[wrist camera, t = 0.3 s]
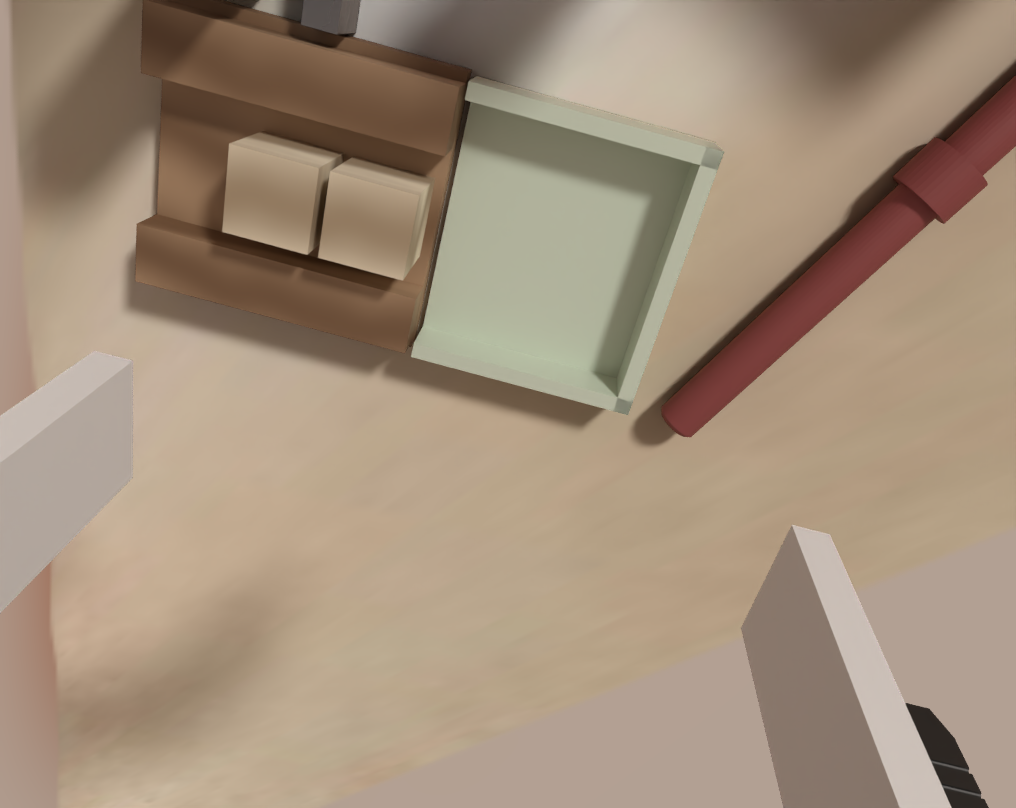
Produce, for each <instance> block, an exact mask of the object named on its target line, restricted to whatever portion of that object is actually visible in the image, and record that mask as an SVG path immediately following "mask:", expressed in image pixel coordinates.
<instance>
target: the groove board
mask: <svg viewBox="0 0 1016 808" xmlns="http://www.w3.org/2000/svg"><path fill="white" fill-rule="evenodd" d="M471 71H472V70H471V69H467V68H464V67H460V66H456V65H453V64H449V63H446V62H442V61H438V60H435V59H431V58H428V57H424V56H420V55H417V54H413V53H410V52H406V51H402V50H399V49H395V48H392V47H388V46H384V45H381V44H377V43H374V42H370V41H366V40H363V39H359V38H356V37H352V36H348V35H345V34H339V35H336V34H333V33H329V32H326V31H322V30H318V29H315V28H311V27H308V26H304V25H301V22H298V21H294V20H291V19H287V18H284V17H280V16H277V15H273V14H269V13H266V12H262V11H259V10H255V9H251V8H248V7H244V6H241V5H237V4H233V3H230V2H226V1H223V0H143V10H142V48H141V73H143V74H147V75H150V76H154V77H158V78H161V79H162V99H161V125H160V151H159V177H158V203H157V214H156V215H154V216H152V217H150V218H148V219H146V220H144V221H142V222H140V223H138V224H137V235H136V273H135V281H137V282H141V283H144V284H148V285H152V286H155V287H159V288H163V289H167V290H170V291H174V292H178V293H182V294H185V295H189V296H193V297H197V298H200V299H204V300H208V301H211V302H215V303H219V304H223V305H226V306H230V307H234V308H238V309H241V310H245V311H249V312H253V313H256V314H260V315H264V316H267V317H271V318H275V319H279V320H282V321H286V322H290V323H294V324H297V325H301V326H305V327H308V328H312V329H316V330H320V331H323V332H327V333H331V334H335V335H338V336H342V337H346V338H350V339H353V340H357V341H361V342H364V343H368V344H372V345H376V346H379V347H383V348H387V349H391V350H394V351H398V352H402V353H405V352H406V350H407V348H408V346H409V347H411V346H412V344H413V342H414V341H415V339H416V334H417V329H418V324H419V320H420V315H421V310H422V305H423V301H424V296H425V291H426V286H427V282H428V277H429V272H430V267H431V262H432V258H433V253H434V248H435V243H436V239H437V234H438V229H439V224H440V219H441V215H442V210H443V205H444V200H445V196H446V191H447V186H448V181H449V176H450V172H451V167H452V162H453V157H454V153H455V148H456V143H457V138H458V133H459V129H460V124H461V119H462V114H463V110H464V105H465V96H466V91H467V87H468V82H469V81H470V76H471ZM261 131H266V132H270V133H274V134H277V135H281V136H284V137H288V138H292V139H295V140H299V141H303V142H306V143H310V144H314V145H317V146H321V147H325V148H328V149H332V150H336V151H339V152H343V153H345V154H344V161H343V163H344V162H346V161H347V160H349V159H350V158H352V157H354V156H357V157H361V158H365V159H368V160H372V161H376V162H379V163H383V164H387V165H390V166H394V167H398V168H401V169H405V170H409V171H412V172H416V173H419V174H423V175H427V176H430V177H434V178H435V183H434V188H433V193H432V198H431V203H430V208H429V213H428V218H427V223H426V228H425V233H424V238H423V243H422V248H421V252H420V257H419V258H418V259H417V261H416V262H415V264H414V265H413V267H412V268H411V269H410V271H409V272H408V274H407V275H406V277H405V278H404V280H403V281H402V280H398V279H395V278H391V277H387V276H384V275H380V274H376V273H372V272H369V271H365V270H361V269H358V268H354V267H350V266H347V265H343V264H339V263H335V262H332V261H328V260H324V259H321V258H318V254H319V247H320V244H319V245H318V246H317V247H316V248H315V249H314V250H313V251H311V252H310V253H309V254H308V255H306V254H302V253H298V252H295V251H291V250H287V249H284V248H280V247H276V246H273V245H269V244H265V243H262V242H258V241H254V240H250V239H247V238H243V237H239V236H236V235H232V234H228V233H225V232H222V228H223V215H224V203H225V190H226V177H227V165H228V152H229V143H232V142H235V141H237V140H240V139H243V138H245V137H248V136H251V135H253V134H256V133H259V132H261Z"/></svg>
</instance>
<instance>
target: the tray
mask: <svg viewBox="0 0 1016 808" xmlns="http://www.w3.org/2000/svg"><path fill="white" fill-rule="evenodd" d="M465 100H467V101H470V107H469V112H468V117H467V121H466V126H465V131H464V135H463V140H462V145H461V150H460V154H459V159H458V164H457V168H456V173H455V178H454V182H453V187H452V192H451V197H450V201H449V206H448V211H447V215H446V220H445V225H444V230H443V234H442V239H441V244H440V248H439V253H438V258H437V262H436V267H435V272H434V277H433V281H432V286H431V291H430V295H429V300H428V305H427V310H426V314H425V319H424V324H423V327H422V329H421V331H420V333H419V335H418V336H417V338H416V340H415V342H414V345H413V350H412V355H411V357H413V358H417V359H421V360H424V361H428V362H432V363H435V364H439V365H443V366H447V367H450V368H454V369H458V370H462V371H465V372H469V373H473V374H477V375H480V376H484V377H488V378H491V379H495V380H499V381H503V382H506V383H510V384H514V385H518V386H521V387H525V388H529V389H533V390H536V391H540V392H544V393H547V394H551V395H555V396H559V397H562V398H566V399H570V400H574V401H577V402H581V403H585V404H589V405H592V406H596V407H600V408H603V409H607V410H611V411H615V412H618V413H622V414H626V415H628V414H629V411H630V408H631V405H632V403H633V400H634V397H635V394H636V392H637V389H638V386H639V383H640V381H641V378H642V375H643V373H644V370H645V367H646V364H647V362H648V359H649V356H650V353H651V351H652V348H653V345H654V342H655V340H656V337H657V334H658V331H659V329H660V326H661V323H662V321H663V318H664V315H665V312H666V310H667V307H668V304H669V301H670V299H671V296H672V293H673V290H674V288H675V285H676V282H677V279H678V277H679V274H680V271H681V269H682V266H683V263H684V260H685V258H686V255H687V252H688V249H689V247H690V244H691V241H692V238H693V236H694V233H695V230H696V227H697V225H698V222H699V219H700V216H701V214H702V211H703V208H704V206H705V203H706V200H707V197H708V195H709V192H710V189H711V186H712V184H713V181H714V178H715V175H716V173H717V170H718V167H719V164H720V162H721V159H722V156H723V154H724V151H723V150H722V149H721V148H720V147H719V146H718V145H717V144H716V142H713V141H709V140H705V139H702V138H698V137H695V136H691V135H687V134H684V133H680V132H677V131H673V130H669V129H666V128H662V127H659V126H655V125H651V124H648V123H644V122H641V121H637V120H634V119H630V118H626V117H623V116H619V115H616V114H612V113H608V112H605V111H601V110H598V109H594V108H590V107H587V106H583V105H580V104H576V103H572V102H569V101H565V100H562V99H558V98H554V97H551V96H547V95H544V94H540V93H536V92H533V91H529V90H526V89H522V88H518V87H515V86H511V85H508V84H504V83H500V82H497V81H493V80H490V79H486V78H482V77H479V76H476V77H475V78H473V79H471V80H470V81H469V82H468V87H467V91H466V96H465Z"/></svg>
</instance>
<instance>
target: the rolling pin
mask: <svg viewBox="0 0 1016 808" xmlns="http://www.w3.org/2000/svg"><path fill="white" fill-rule="evenodd" d="M1015 146H1016V75H1015V76H1014V77H1013V78H1012V79H1011V80H1010V81H1009V82H1008V83H1007V84H1006V85H1005V86H1003V87H1002V88H1001V89H1000V90H999V91H998V92H997V93H996V94H995V95H994V96H993V97H992V98H991V99H990V100H989V101H987V102H986V103H985V104H984V105H983V106H982V107H981V108H980V109H979V110H978V111H977V112H976V113H975V114H974V115H973V116H971V117H970V118H969V119H968V120H967V121H966V122H965V123H964V124H963V125H962V126H961V127H960V128H959V129H958V130H956V131H955V132H954V133H953V134H952V135H951V136H950V137H949V138H948V139H947V140H946V141H945V142H944V141H943V140H941V139H939V138H936V137H934V138H933V139H932V140H931V141H930V142H929V143H928V144H927V145H926V146H925V147H924V148H923V149H922V150H921V151H920V152H918V153H917V154H916V155H915V156H914V157H913V158H912V159H911V160H910V161H909V162H908V163H907V164H906V165H905V166H904V167H903V168H902V169H901V170H899V171H898V172H897V173H896V174H895V175H894V176H893V179H894V180H895V181H896V182H897V183H898V184H899V185H898V186H897V187H896V188H895V189H894V190H892V191H891V192H890V193H889V194H888V195H887V196H886V197H885V198H884V199H883V200H882V201H881V202H880V203H879V204H877V205H876V206H875V207H874V208H873V209H872V210H871V211H870V212H869V213H868V214H867V215H866V216H865V217H864V218H863V219H861V220H860V221H859V222H858V223H857V224H856V225H855V226H854V227H853V228H852V229H851V230H850V231H849V232H848V233H847V234H845V235H844V236H843V237H842V238H841V239H840V240H839V241H838V242H837V243H836V244H835V245H834V246H833V247H832V248H830V249H829V250H828V251H827V252H826V253H825V254H824V255H823V256H822V257H821V258H820V259H819V260H818V261H817V262H816V263H814V264H813V265H812V266H811V267H810V268H809V269H808V270H807V271H806V272H805V273H804V274H803V275H802V276H801V277H800V278H798V279H797V280H796V281H795V282H794V283H793V284H792V285H791V286H790V287H789V288H788V289H787V290H786V291H785V292H783V293H782V294H781V295H780V296H779V297H778V298H777V299H776V300H775V301H774V302H773V303H772V304H771V305H770V306H769V307H767V308H766V309H765V310H764V311H763V312H762V313H761V314H760V315H759V316H758V317H757V318H756V319H755V320H754V321H753V322H751V323H750V324H749V325H748V326H747V327H746V328H745V329H744V330H743V331H742V332H741V333H740V334H739V335H738V336H737V337H735V338H734V339H733V340H732V341H731V342H730V343H729V344H728V345H727V346H726V347H725V348H724V349H723V350H722V351H720V352H719V353H718V354H717V355H716V356H715V357H714V358H713V359H712V360H711V361H710V362H709V363H708V364H707V365H706V366H704V367H703V368H702V369H701V370H700V371H699V372H698V373H697V374H696V375H695V376H694V377H693V378H692V379H691V380H690V381H688V382H687V383H686V384H685V385H684V386H683V387H682V388H681V389H680V390H679V391H678V392H677V393H676V394H675V395H673V396H672V397H671V398H670V399H669V400H668V401H667V402H666V403H665V404H664V405H663V406H662V417H663V418H664V420H665V422H666V423H667V424H668V425H669V426H670V427H671V428H672V429H673V430H674V431H675V432H676V433H677V434H679V435H681V436H683V437H692V436H693V435H694V434H695V433H696V432H697V431H698V430H699V429H700V428H702V427H703V426H704V425H705V424H706V423H707V422H708V421H709V420H711V419H712V418H713V417H714V416H715V415H716V414H717V413H718V412H719V411H721V410H722V409H723V408H724V407H725V406H726V405H727V404H728V403H729V402H731V401H732V400H733V399H734V398H735V397H736V396H737V395H738V394H740V393H741V392H742V391H743V390H744V389H745V388H746V387H747V386H748V385H750V384H751V383H752V382H753V381H754V380H755V379H756V378H757V377H759V376H760V375H761V374H762V373H763V372H764V371H765V370H766V369H767V368H769V367H770V366H771V365H772V364H773V363H774V362H775V361H776V360H777V359H779V358H780V357H781V356H782V355H783V354H784V353H785V352H786V351H788V350H789V349H790V348H791V347H792V346H793V345H794V344H795V343H796V342H798V341H799V340H800V339H801V338H802V337H803V336H804V335H805V334H806V333H808V332H809V331H810V330H811V329H812V328H813V327H814V326H815V325H817V324H818V323H819V322H820V321H821V320H822V319H823V318H824V317H825V316H827V315H828V314H829V313H830V312H831V311H832V310H833V309H834V308H836V307H837V306H838V305H839V304H840V303H841V302H842V301H843V300H844V299H846V298H847V297H848V296H849V295H850V294H851V293H852V292H853V291H854V290H856V289H857V288H858V287H859V286H860V285H861V284H862V283H863V282H865V281H866V280H867V279H868V278H869V277H870V276H871V275H872V274H873V273H875V272H876V271H877V270H878V269H879V268H880V267H881V266H882V265H883V264H885V263H886V262H887V261H888V260H889V259H890V258H891V257H892V256H894V255H895V254H896V253H897V252H898V251H899V250H900V249H901V248H902V247H904V246H905V245H906V244H907V243H908V242H909V241H910V240H911V239H913V238H914V237H915V236H916V235H917V234H918V233H919V232H920V231H921V230H923V229H924V228H925V227H926V226H927V225H928V224H929V223H930V222H931V221H933V220H934V219H937V220H938V221H939V222H941V223H943V224H944V223H945V222H946V221H948V220H949V219H950V218H951V217H952V216H953V215H954V214H955V213H957V212H958V211H959V210H960V209H961V208H962V207H963V206H964V205H966V204H967V203H968V202H969V201H970V200H971V199H972V198H973V197H975V196H976V195H977V194H978V193H979V192H980V191H981V190H983V189H984V188H985V187H986V186H987V185H988V183H987V181H986V180H985V178H984V177H983V175H984V174H985V173H986V172H987V171H988V170H990V169H991V168H992V167H993V166H994V165H995V164H996V163H997V162H998V161H1000V160H1001V159H1002V158H1003V157H1004V156H1005V155H1006V154H1007V153H1009V152H1010V151H1011V150H1012V149H1013V148H1014V147H1015Z"/></svg>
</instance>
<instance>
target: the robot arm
mask: <svg viewBox="0 0 1016 808" xmlns="http://www.w3.org/2000/svg"><path fill="white" fill-rule="evenodd" d="M132 478H133V360H129V359H125V358H121V357H117V356H113V355H109V354H105V353H101V352H97V351H93V352H92V353H90V354H89V355H87V356H86V357H84V358H83V359H82V360H80V361H79V362H77V363H76V364H74V365H73V366H71V367H70V368H69V369H67V370H66V371H64V372H63V373H61V374H60V375H58V376H57V377H55V378H54V379H53V380H51V381H50V382H48V383H47V384H45V385H44V386H42V387H41V388H40V389H38V390H37V391H35V392H34V393H32V394H31V395H29V396H28V397H27V398H25V399H24V400H22V401H21V402H19V403H18V404H16V405H15V406H14V407H12V408H11V409H9V410H8V411H6V412H5V413H4V414H2V415H1V416H0V613H1V612H2V611H3V610H4V609H5V608H6V607H7V606H8V605H9V604H10V603H11V602H12V601H13V600H14V599H15V597H16V596H18V595H19V593H20V592H21V591H22V590H23V589H24V588H25V587H26V586H27V585H28V584H29V583H30V582H31V581H32V580H33V579H34V578H35V577H36V576H37V575H38V574H39V573H40V572H41V571H42V570H43V569H44V568H45V567H46V566H47V565H48V564H49V563H50V562H51V561H52V560H53V559H54V558H55V557H56V556H57V555H58V554H59V553H60V552H61V550H62V549H63V548H64V547H65V546H66V545H67V544H68V543H69V542H70V541H71V540H72V539H73V538H74V537H75V536H76V535H77V534H78V533H79V532H80V531H81V530H82V529H83V528H84V527H85V526H86V525H87V524H88V523H89V522H90V521H91V520H92V519H93V518H94V517H95V516H96V515H97V514H98V513H99V512H100V511H101V510H102V509H103V507H104V506H105V505H106V504H107V503H108V502H109V501H110V500H111V499H112V498H113V497H114V496H115V495H116V494H117V493H118V492H119V491H120V490H121V489H122V488H123V487H124V486H125V485H126V484H127V483H128V482H129V481H130V480H131V479H132ZM741 630H742V634H743V638H744V643H745V647H746V651H747V655H748V660H749V664H750V668H751V672H752V676H753V681H754V685H755V689H756V693H757V698H758V702H759V706H760V710H761V715H762V719H763V723H764V727H765V732H766V736H767V740H768V744H769V748H770V753H771V757H772V761H773V765H774V770H775V774H776V778H777V782H778V786H779V791H780V795H781V799H782V803H783V808H988V806H987V804H986V802H985V800H984V799H981V791H980V789H979V787H978V785H977V783H976V781H975V779H974V777H973V775H972V774H969V772H968V770H969V767H968V765H967V763H966V761H965V759H964V757H963V755H962V753H961V751H960V749H959V747H958V745H957V743H956V740H955V738H954V737H953V736H952V735H951V734H950V732H949V731H948V730H947V729H946V728H945V727H944V725H943V724H942V723H941V722H940V721H939V720H938V719H937V717H936V716H935V715H934V714H933V713H932V711H931V710H930V709H928V708H924V707H920V706H916V705H912V704H908V703H905V702H904V700H903V698H902V695H901V693H900V691H899V689H898V686H897V684H896V682H895V680H894V677H893V675H892V673H891V671H890V668H889V666H888V664H887V662H886V660H885V657H884V655H883V653H882V650H881V648H880V646H879V644H878V641H877V639H876V637H875V635H874V632H873V630H872V628H871V626H870V624H869V621H868V619H867V617H866V615H865V612H864V610H863V608H862V606H861V604H860V601H859V599H858V597H857V594H856V592H855V590H854V588H853V585H852V583H851V581H850V579H849V576H848V574H847V572H846V570H845V567H844V565H843V563H842V561H841V558H840V556H839V554H838V552H837V549H836V547H835V545H834V543H833V540H832V538H831V536H830V534H826V533H822V532H818V531H814V530H810V529H806V528H802V527H798V526H794V525H792V526H791V528H790V530H789V532H788V534H787V536H786V538H785V540H784V542H783V544H782V546H781V548H780V550H779V552H778V554H777V556H776V558H775V560H774V562H773V564H772V566H771V568H770V570H769V572H768V574H767V576H766V579H765V581H764V583H763V585H762V587H761V589H760V591H759V593H758V595H757V597H756V599H755V601H754V603H753V605H752V607H751V609H750V611H749V613H748V615H747V617H746V619H745V621H744V623H743V625H742V627H741Z"/></svg>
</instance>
